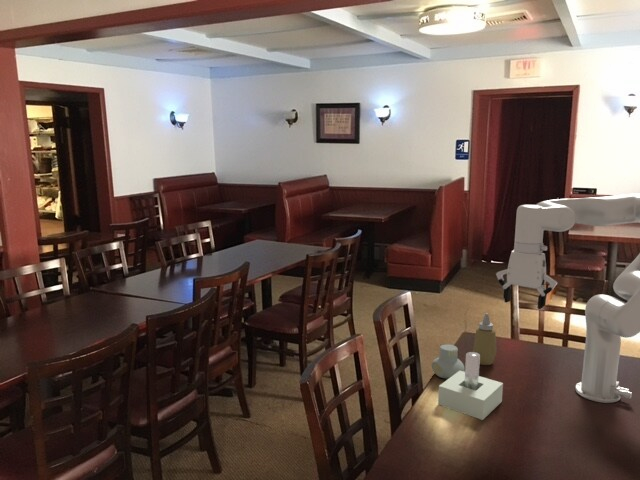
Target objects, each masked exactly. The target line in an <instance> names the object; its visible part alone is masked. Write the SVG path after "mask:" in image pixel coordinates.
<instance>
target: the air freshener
mask: <svg viewBox="0 0 640 480" xmlns="http://www.w3.org/2000/svg"><path fill="white" fill-rule="evenodd" d="M458 351H459V349H458V347H457V346H456V345H453V344H449V343H448V344H442V345H440V346H439V356H438V357H436V358H434V359H433V361H432V362H431V369H432V371H433V373H434V374H435V376H438V377H439V378H441V379H445V380H448V379H449V378H450V377H452V376H453V375H454V374H456V373H457V372H458V371H464V372H465V364H464V363H463V361H461V360H460V359H459V358H458V356H459V355H458V353H459V352H458Z"/></svg>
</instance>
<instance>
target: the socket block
mask: <svg viewBox="0 0 640 480" xmlns="http://www.w3.org/2000/svg"><path fill="white" fill-rule="evenodd" d="M464 382H465V371H458V372H457V373H456V374H454V375H453V376H452V377H450V378H449V379H445V381H443V382H442V383H440V384H439V386H438V400H437V401H438V402H437V405H438V406H442V407H444V408H447V409H450V410H454V411H456V412H459V413H461V414H464V415H467V416H470V417H473V418H476V419H477V420H478V419H479V420H481V421H483V420H484V419H486V417H487V416H489V415H490V414H491V413H492V412H493V411H494V410H495V409H496V408H497V407H498V406H499V405H500V404H501V403H502V401H503V391H504V389H503V388H504V383H503V382H501V381H497V380H494V379H490V378H488V377H484V376H480V375H479V382H478V390H476V391H475V390H472V389H469V388H466V387H464Z"/></svg>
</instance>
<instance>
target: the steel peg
mask: <svg viewBox="0 0 640 480" xmlns="http://www.w3.org/2000/svg"><path fill="white" fill-rule="evenodd" d="M480 365H481V364H480V354H478V353H475V352H473V351H469V352H466V353H465V364H464V367H465V371H464V372H465V382H464V387H466V388H469V389H472V390H475V391H476V390H478V382H479V376H480Z"/></svg>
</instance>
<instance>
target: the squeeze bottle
mask: <svg viewBox="0 0 640 480" xmlns="http://www.w3.org/2000/svg"><path fill="white" fill-rule="evenodd" d="M496 336H497V335H496V330H495V329H494V324H493V323H492V322H491V320H490V314H489V313H487V312H485V313H484V316H483V320H482V321H481V322H479V325H478V328H476V330H475V336H474V341H473V346H472V347H473V348H472V352H475V353H478V354H480V364H479V365H482V366H491V365H492V364H493V363H494V361H495V358H496V356H497V339H496Z"/></svg>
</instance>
